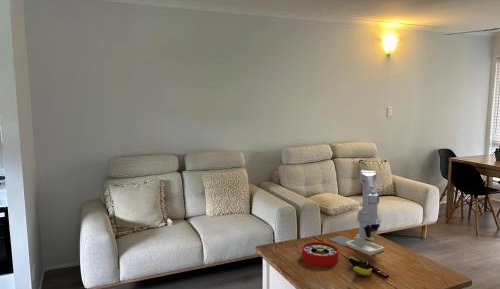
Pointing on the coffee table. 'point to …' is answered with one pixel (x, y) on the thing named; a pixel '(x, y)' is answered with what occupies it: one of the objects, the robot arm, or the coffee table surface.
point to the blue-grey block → (359, 241)
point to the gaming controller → (360, 267)
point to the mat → (340, 240)
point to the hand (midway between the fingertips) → (370, 236)
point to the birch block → (372, 235)
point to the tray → (366, 247)
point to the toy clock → (320, 254)
